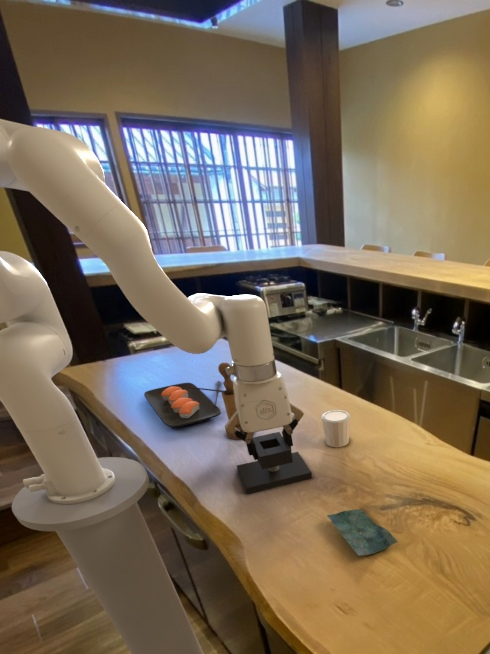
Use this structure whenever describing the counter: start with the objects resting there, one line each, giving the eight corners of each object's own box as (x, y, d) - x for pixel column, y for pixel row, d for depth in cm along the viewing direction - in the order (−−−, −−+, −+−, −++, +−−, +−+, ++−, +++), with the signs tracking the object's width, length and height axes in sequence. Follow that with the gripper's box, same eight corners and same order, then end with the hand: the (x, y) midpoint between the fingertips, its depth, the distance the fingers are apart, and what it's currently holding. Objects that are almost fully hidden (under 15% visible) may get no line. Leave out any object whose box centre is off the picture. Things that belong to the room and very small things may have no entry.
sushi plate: (143, 397, 126) (138, 385, 124) (240, 376, 141) (237, 364, 138) (170, 434, 108) (165, 421, 106) (278, 405, 122) (276, 393, 120)
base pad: (247, 494, 88) (243, 478, 85) (238, 470, 95) (234, 455, 92) (312, 478, 93) (310, 462, 90) (298, 457, 100) (296, 441, 97)
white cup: (332, 451, 102) (330, 424, 97) (318, 440, 106) (316, 414, 102) (356, 443, 105) (355, 417, 101) (342, 432, 109) (340, 407, 105)
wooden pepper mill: (224, 430, 110) (207, 360, 99) (249, 425, 112) (235, 356, 101) (229, 441, 105) (211, 369, 94) (255, 436, 108) (241, 365, 97)
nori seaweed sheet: (326, 522, 80) (325, 514, 79) (362, 510, 84) (362, 502, 83) (359, 563, 72) (359, 555, 71) (397, 548, 75) (398, 540, 74)
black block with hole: (262, 469, 86) (259, 457, 85) (252, 450, 93) (249, 437, 91) (293, 462, 89) (291, 449, 87) (281, 443, 95) (279, 431, 93)
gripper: (210, 384, 74) (233, 471, 85) (306, 368, 80) (316, 451, 91) (204, 370, 79) (227, 454, 90) (294, 357, 85) (305, 437, 96)
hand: (271, 452), depth 90 cm, fingers closed on black block with hole, 6 cm apart
